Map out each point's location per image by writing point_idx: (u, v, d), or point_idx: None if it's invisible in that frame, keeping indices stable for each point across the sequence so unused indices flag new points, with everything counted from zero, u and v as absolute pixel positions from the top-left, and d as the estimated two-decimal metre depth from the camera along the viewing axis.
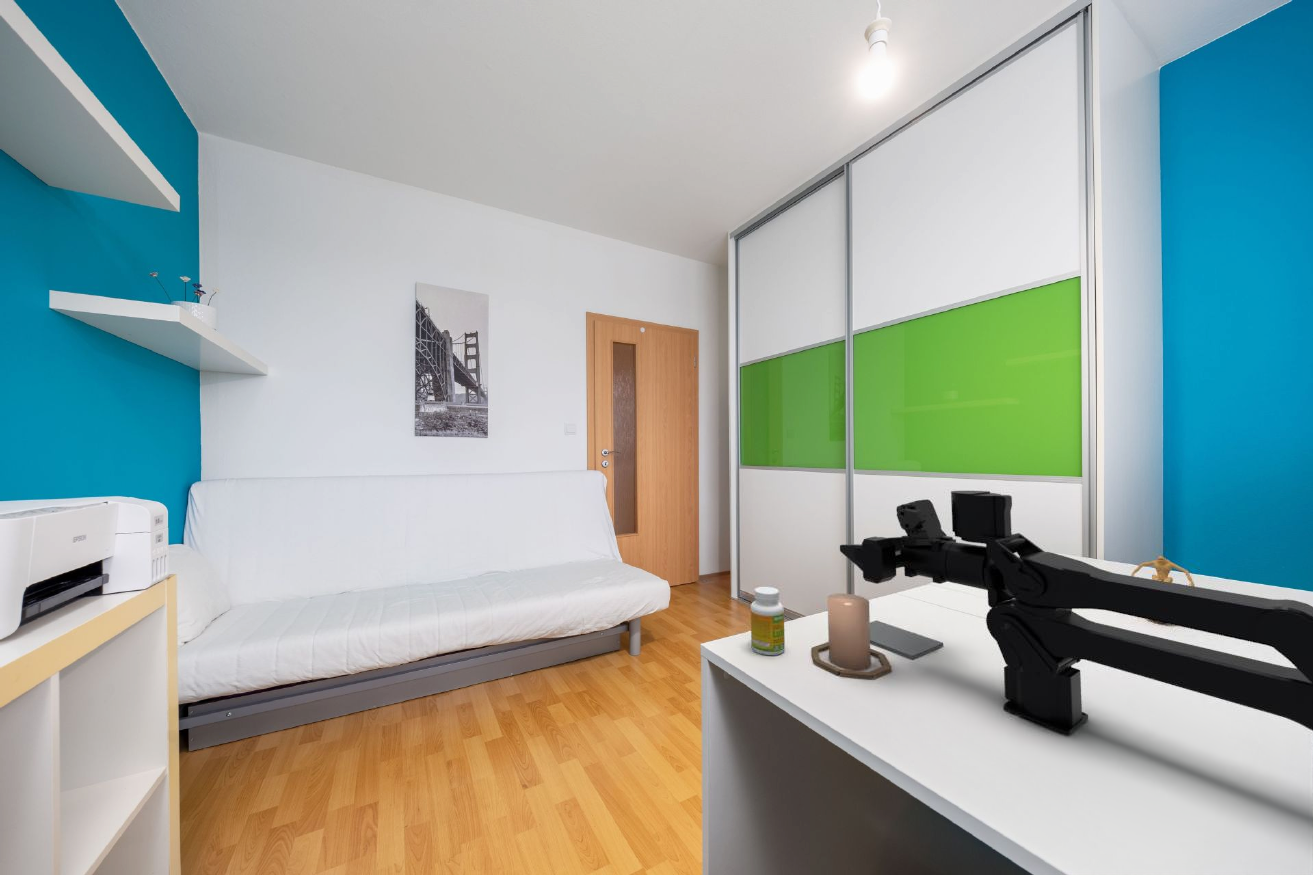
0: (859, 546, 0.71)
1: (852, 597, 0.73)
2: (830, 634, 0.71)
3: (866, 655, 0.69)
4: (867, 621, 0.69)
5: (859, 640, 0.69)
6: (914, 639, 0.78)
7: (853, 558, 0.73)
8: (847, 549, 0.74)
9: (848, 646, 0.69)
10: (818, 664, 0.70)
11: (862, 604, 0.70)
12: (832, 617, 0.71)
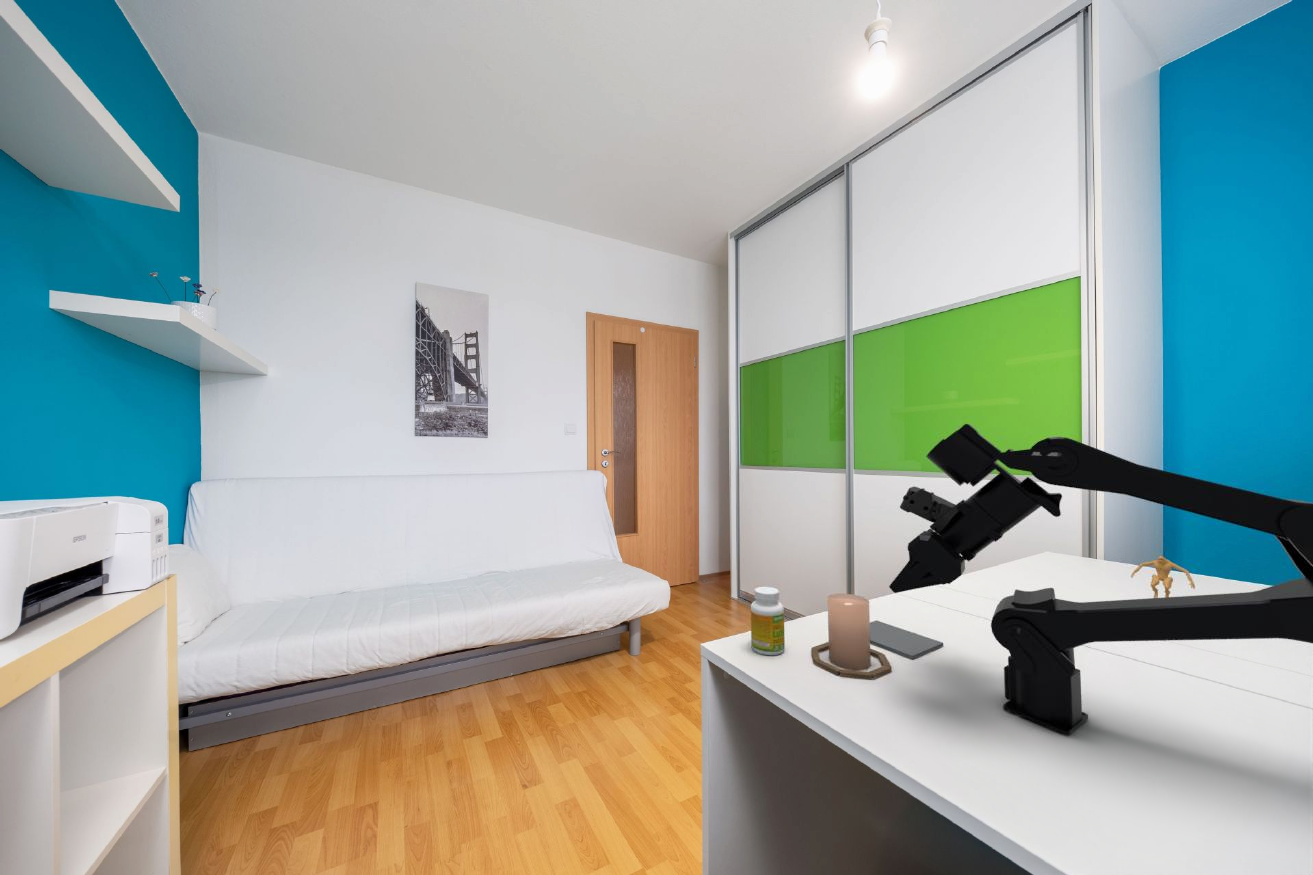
0: (908, 563, 0.61)
1: (852, 597, 0.73)
2: (830, 634, 0.71)
3: (866, 655, 0.69)
4: (867, 621, 0.69)
5: (859, 640, 0.69)
6: (914, 639, 0.78)
7: (914, 583, 0.61)
8: (900, 581, 0.62)
9: (848, 646, 0.69)
10: (818, 664, 0.70)
11: (862, 604, 0.70)
12: (832, 617, 0.71)
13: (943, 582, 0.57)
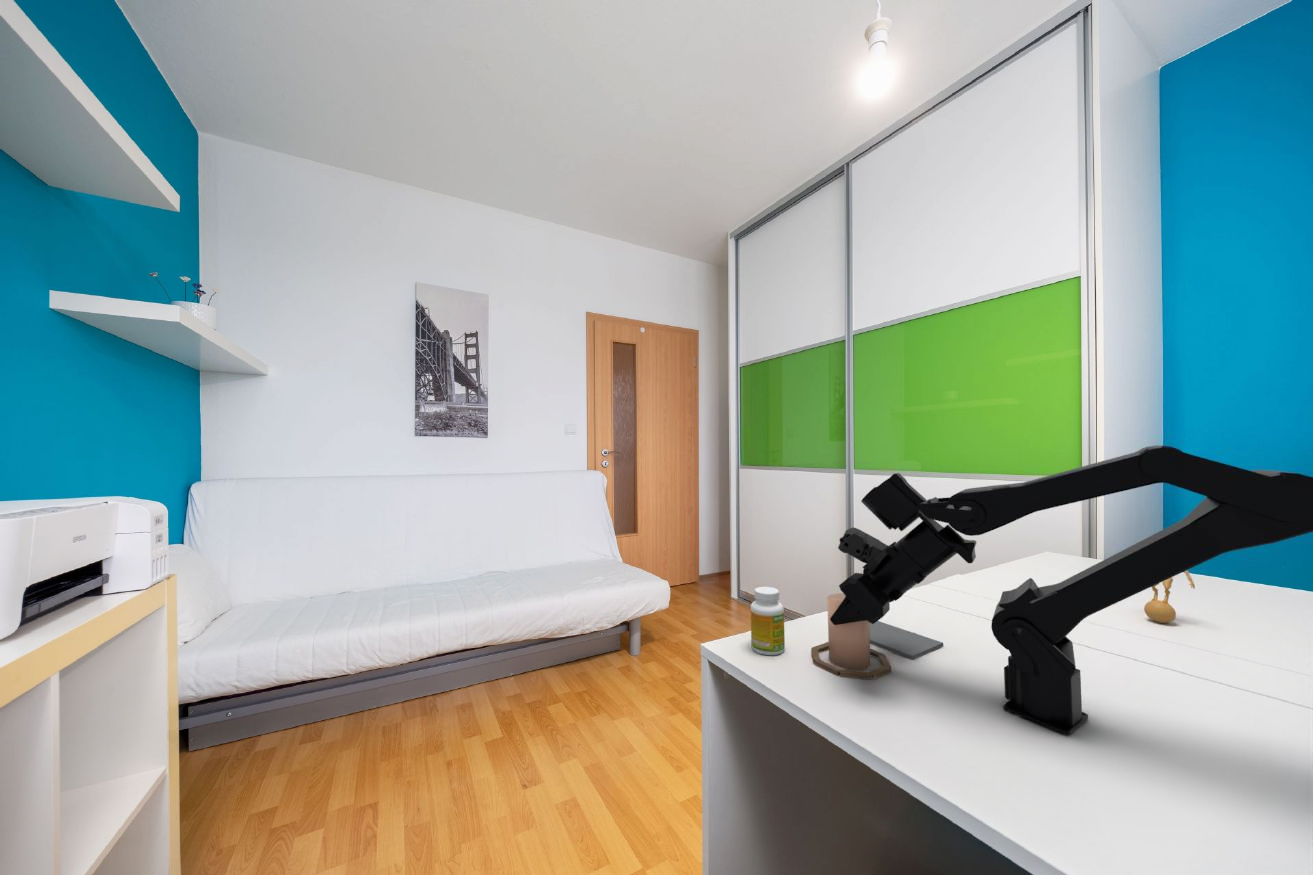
0: (844, 600, 0.67)
1: None
2: (830, 634, 0.71)
3: (866, 655, 0.69)
4: (867, 621, 0.70)
5: (859, 640, 0.69)
6: (914, 639, 0.78)
7: (849, 617, 0.68)
8: (838, 615, 0.69)
9: (848, 646, 0.69)
10: (818, 664, 0.70)
11: None
12: None
13: None
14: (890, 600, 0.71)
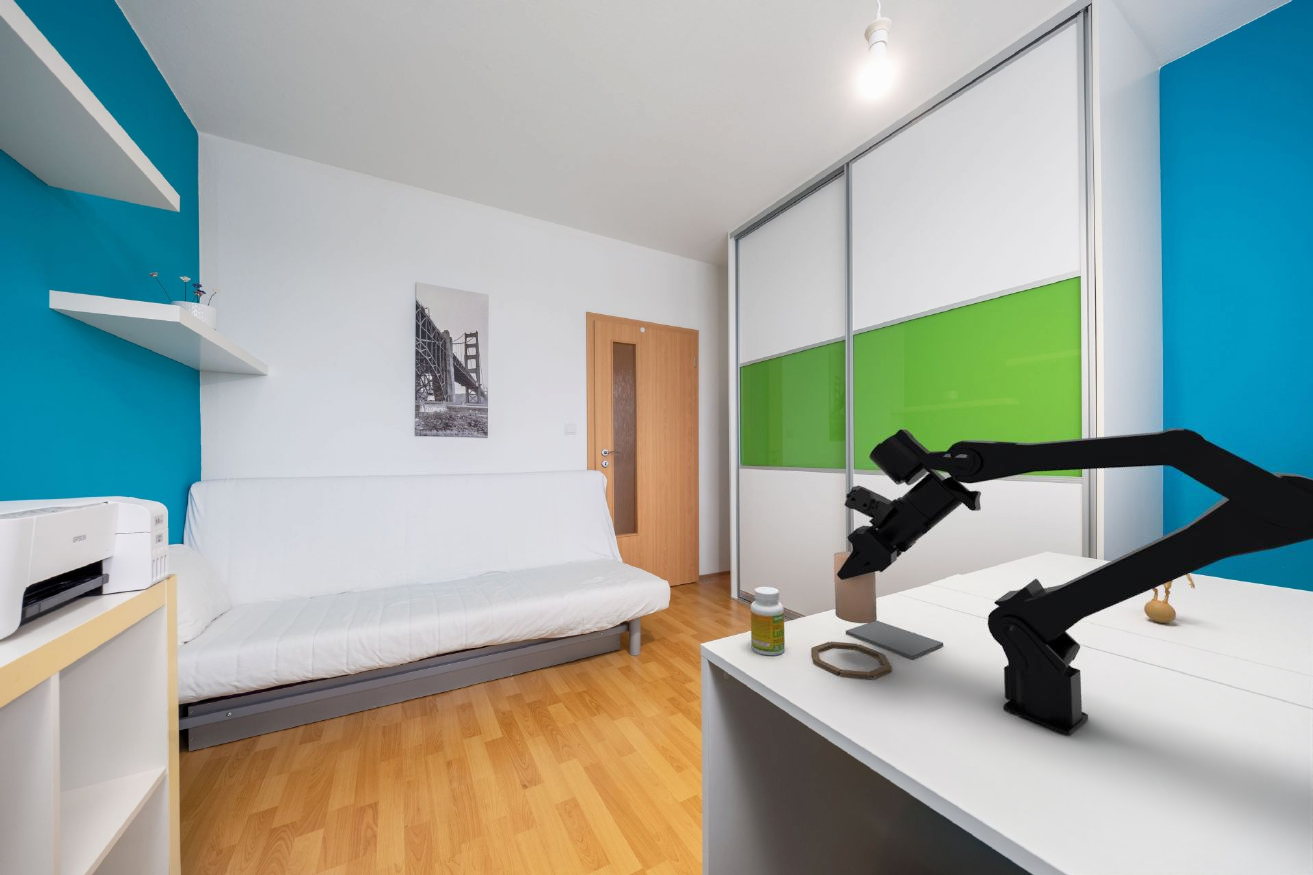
0: (852, 553, 0.69)
1: None
2: (837, 590, 0.73)
3: (872, 608, 0.70)
4: (873, 575, 0.71)
5: (865, 594, 0.70)
6: (914, 639, 0.78)
7: (857, 571, 0.69)
8: (845, 569, 0.70)
9: (855, 600, 0.70)
10: (818, 664, 0.70)
11: None
12: None
13: None
14: None
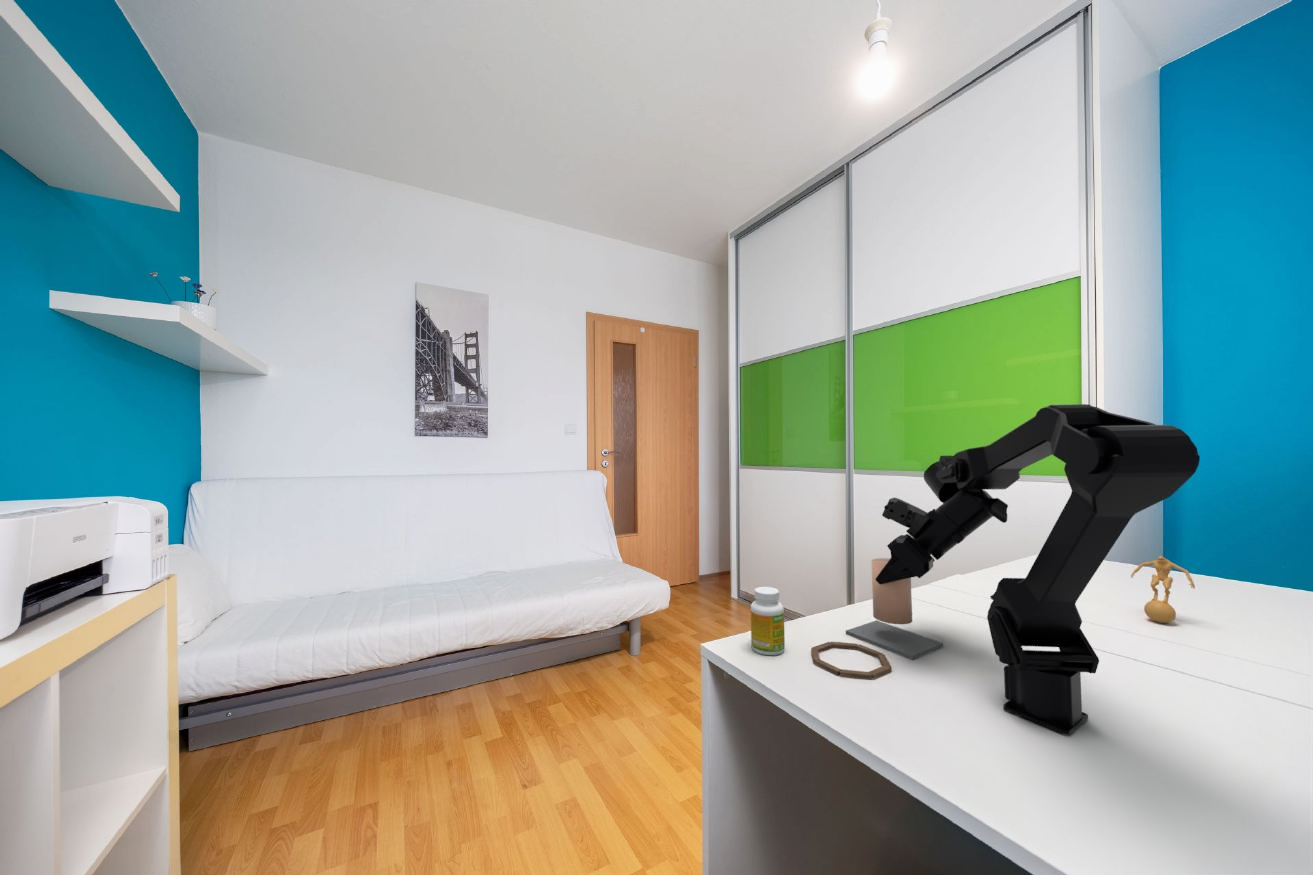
0: (890, 560, 0.75)
1: None
2: (875, 593, 0.79)
3: (909, 610, 0.77)
4: (909, 580, 0.77)
5: (902, 597, 0.76)
6: (914, 639, 0.78)
7: (895, 576, 0.75)
8: (884, 575, 0.77)
9: (893, 603, 0.77)
10: (818, 664, 0.70)
11: None
12: None
13: None
14: None
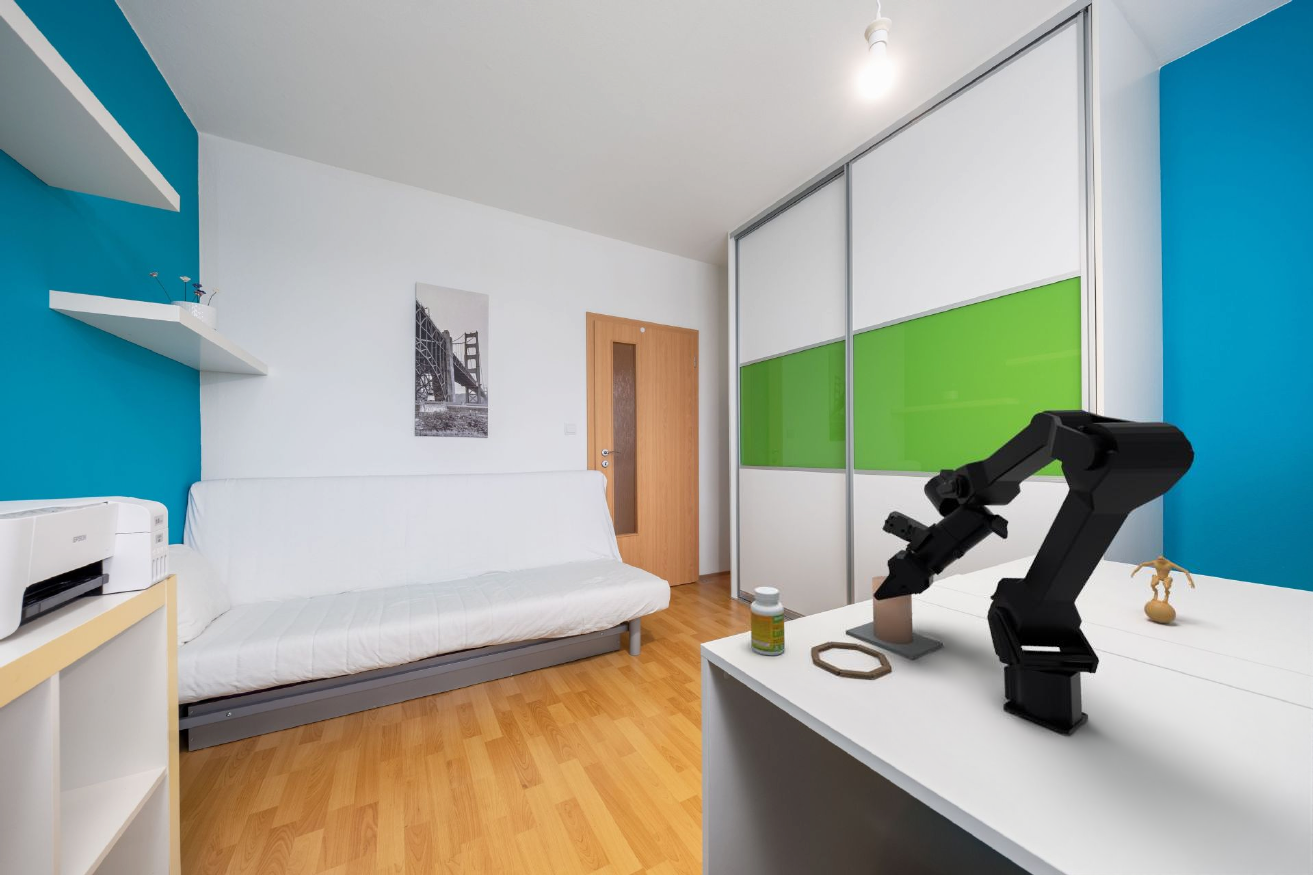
0: (888, 576, 0.74)
1: None
2: (875, 612, 0.79)
3: (909, 630, 0.77)
4: (910, 600, 0.77)
5: (903, 617, 0.76)
6: (914, 639, 0.78)
7: (893, 593, 0.74)
8: (881, 591, 0.75)
9: (893, 622, 0.76)
10: (818, 664, 0.70)
11: None
12: None
13: (915, 592, 0.70)
14: None
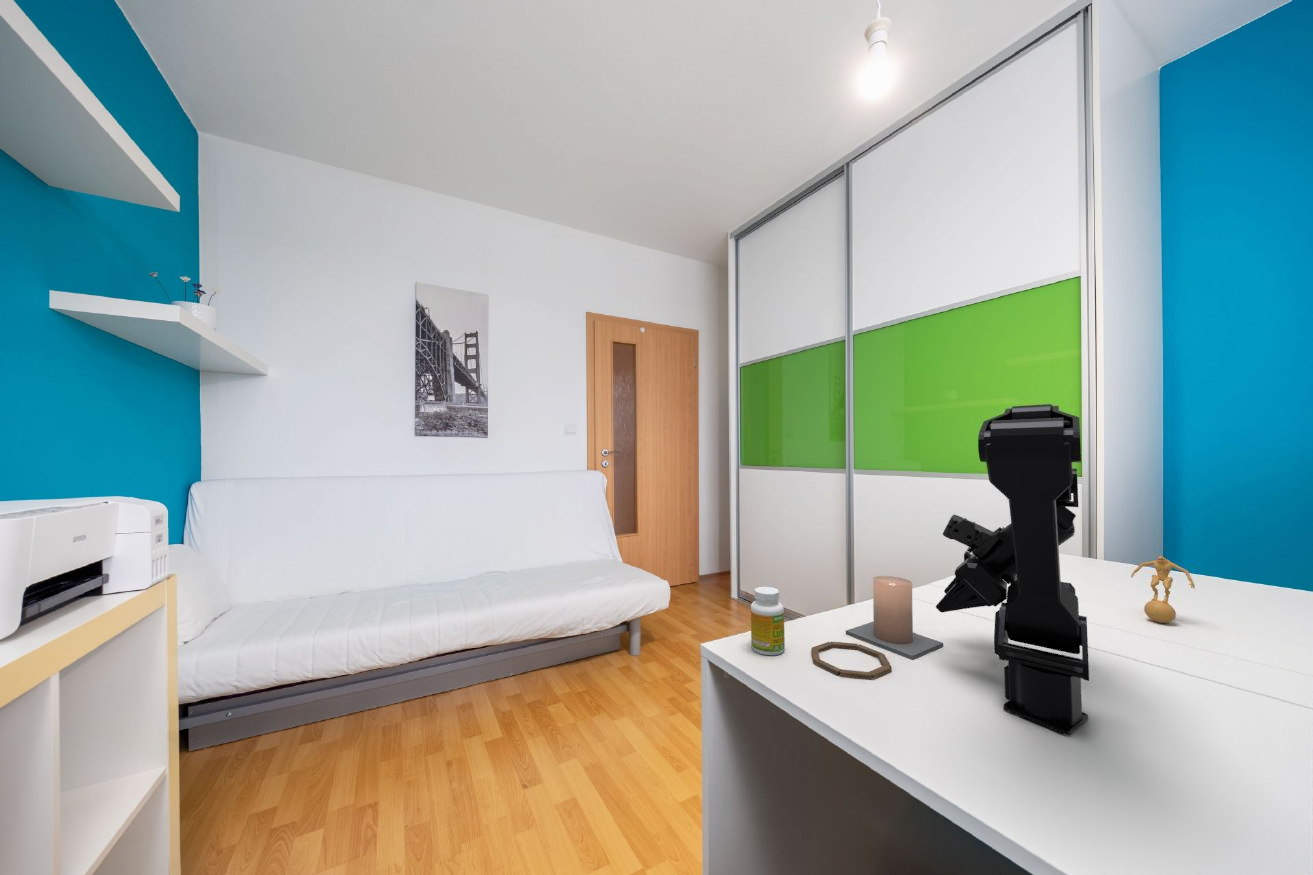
0: (954, 587, 0.68)
1: (895, 579, 0.80)
2: (876, 612, 0.79)
3: (909, 630, 0.77)
4: (910, 600, 0.77)
5: (903, 617, 0.76)
6: (914, 639, 0.78)
7: (960, 604, 0.68)
8: (946, 602, 0.70)
9: (894, 622, 0.76)
10: (818, 664, 0.70)
11: (906, 584, 0.77)
12: (879, 596, 0.78)
13: (989, 604, 0.64)
14: None
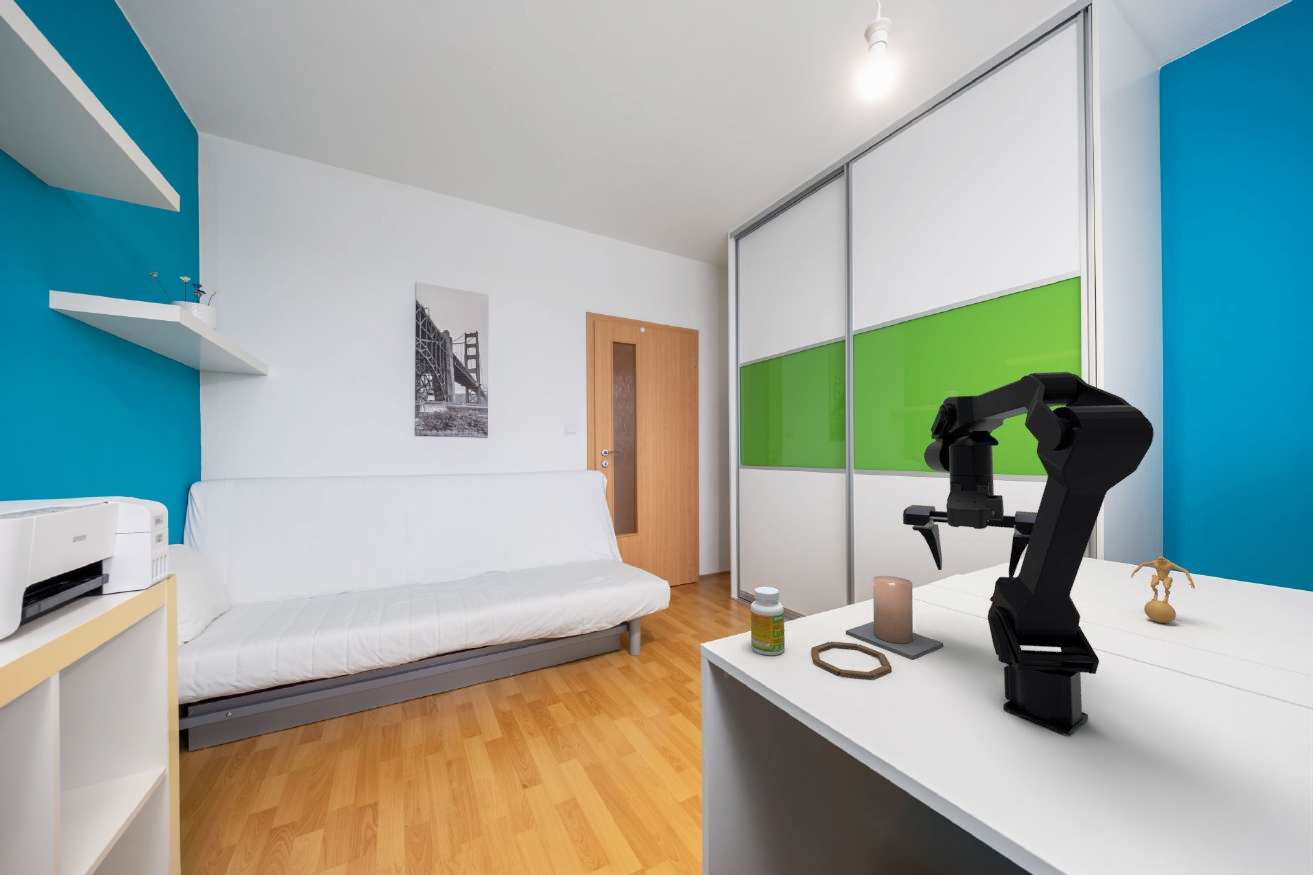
0: (1023, 550, 0.68)
1: (895, 578, 0.80)
2: (876, 611, 0.79)
3: (910, 630, 0.77)
4: (911, 599, 0.77)
5: (904, 616, 0.76)
6: (914, 639, 0.78)
7: None
8: (1016, 567, 0.69)
9: (894, 622, 0.76)
10: (818, 664, 0.70)
11: (907, 584, 0.77)
12: (879, 596, 0.78)
13: None
14: None
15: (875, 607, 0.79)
